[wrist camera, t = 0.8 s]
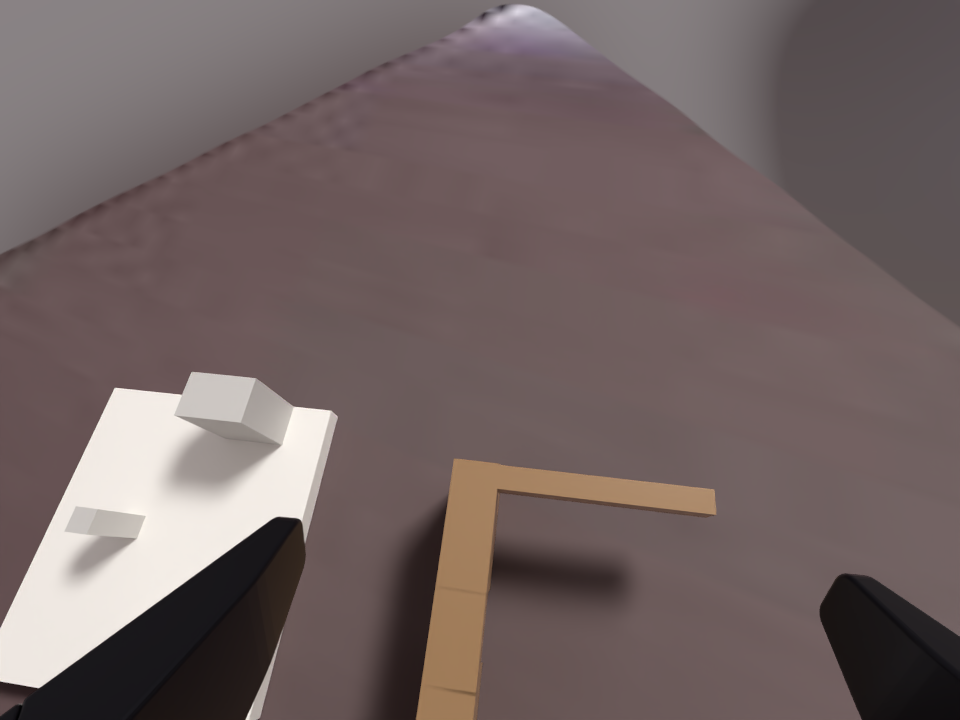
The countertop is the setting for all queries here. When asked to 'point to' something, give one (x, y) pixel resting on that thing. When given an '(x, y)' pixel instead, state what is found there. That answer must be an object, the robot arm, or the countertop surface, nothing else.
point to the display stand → (160, 512)
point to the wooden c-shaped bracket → (470, 559)
